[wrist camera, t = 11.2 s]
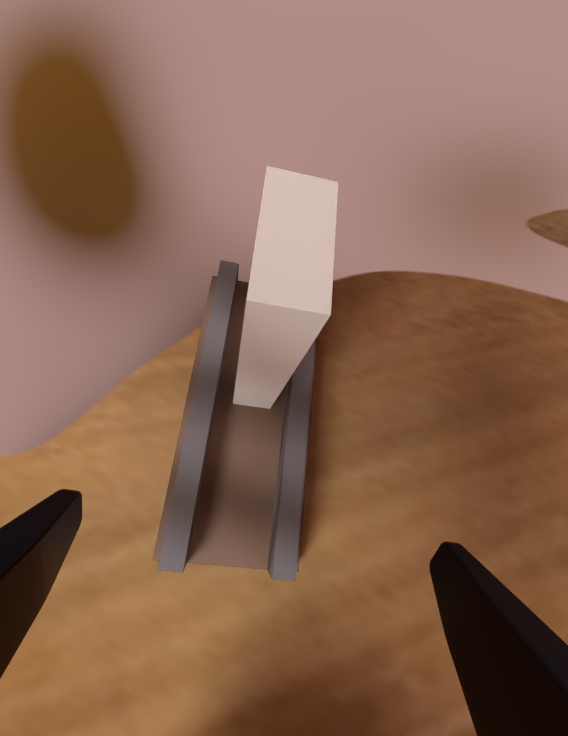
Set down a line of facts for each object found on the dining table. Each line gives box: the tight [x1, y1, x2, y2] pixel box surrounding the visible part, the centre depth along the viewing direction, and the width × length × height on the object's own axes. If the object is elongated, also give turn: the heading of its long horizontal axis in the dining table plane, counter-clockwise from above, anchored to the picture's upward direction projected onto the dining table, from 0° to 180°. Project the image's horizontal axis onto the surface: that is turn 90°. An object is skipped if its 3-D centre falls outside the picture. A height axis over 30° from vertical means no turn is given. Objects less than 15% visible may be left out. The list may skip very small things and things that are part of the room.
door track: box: [153, 261, 317, 581], centre depth 21 cm, size 18×8×4 cm, turn 174°
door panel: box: [233, 166, 338, 409], centre depth 16 cm, size 5×2×13 cm, turn 174°
